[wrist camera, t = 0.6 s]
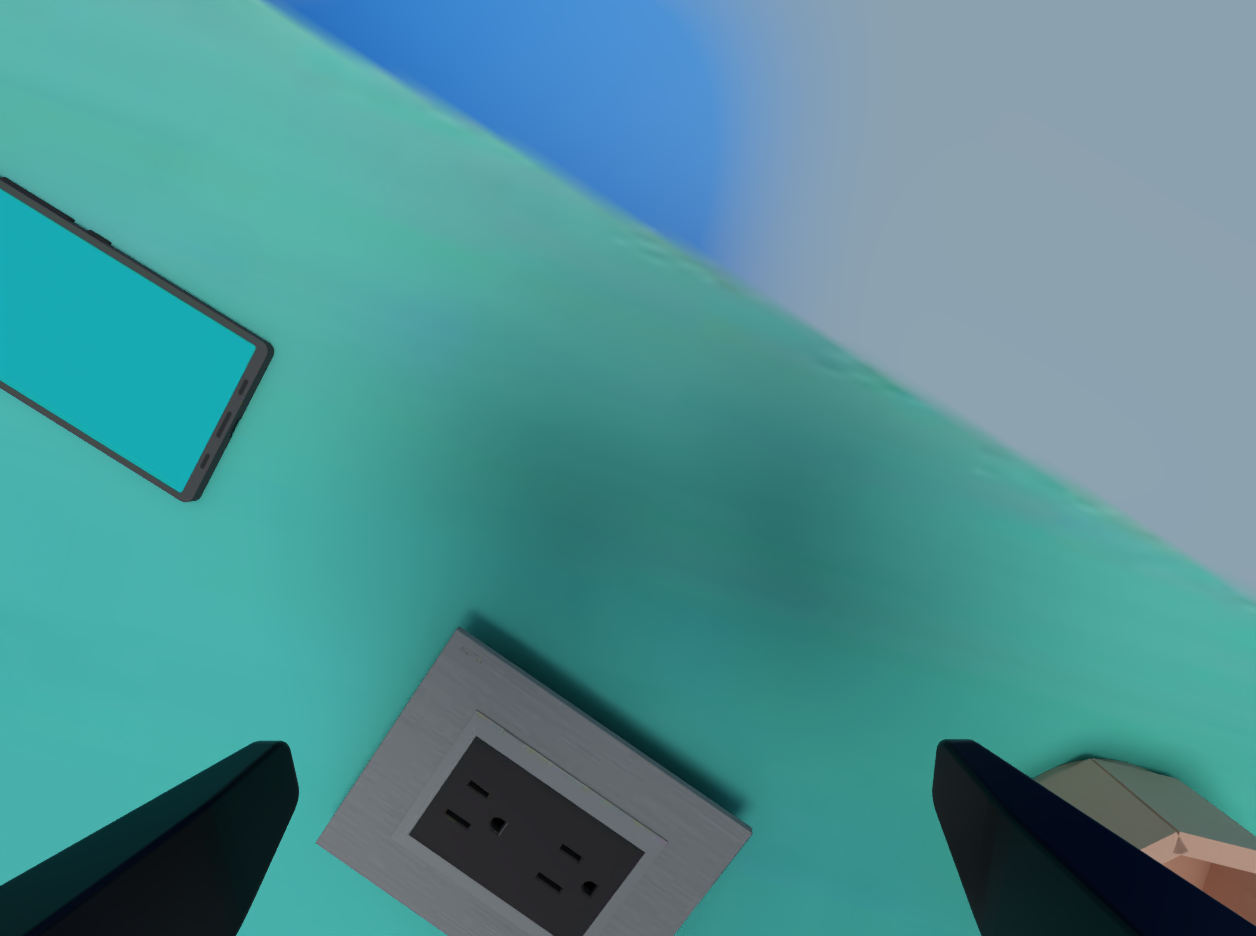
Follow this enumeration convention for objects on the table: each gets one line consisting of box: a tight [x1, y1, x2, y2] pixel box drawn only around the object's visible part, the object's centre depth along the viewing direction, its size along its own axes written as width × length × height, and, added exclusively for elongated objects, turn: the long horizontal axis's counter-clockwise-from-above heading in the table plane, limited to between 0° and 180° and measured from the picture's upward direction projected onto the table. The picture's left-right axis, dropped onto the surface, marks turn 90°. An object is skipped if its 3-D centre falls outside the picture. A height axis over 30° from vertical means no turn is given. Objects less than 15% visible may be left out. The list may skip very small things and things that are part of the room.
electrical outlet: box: [316, 627, 753, 936], centre depth 24 cm, size 13×10×2 cm
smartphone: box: [0, 177, 274, 502], centre depth 25 cm, size 7×1×15 cm
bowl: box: [1033, 758, 1256, 926], centre depth 21 cm, size 8×8×4 cm
